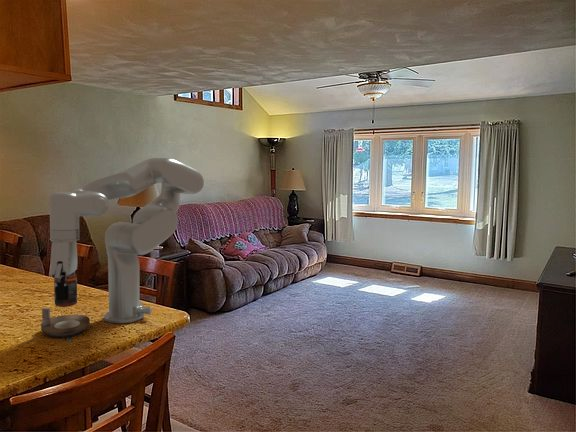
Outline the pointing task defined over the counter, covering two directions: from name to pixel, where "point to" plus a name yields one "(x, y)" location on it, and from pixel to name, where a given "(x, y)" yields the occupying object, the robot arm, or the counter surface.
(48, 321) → the turntable
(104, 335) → the counter surface
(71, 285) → the supplement bottle
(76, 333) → the turntable base
